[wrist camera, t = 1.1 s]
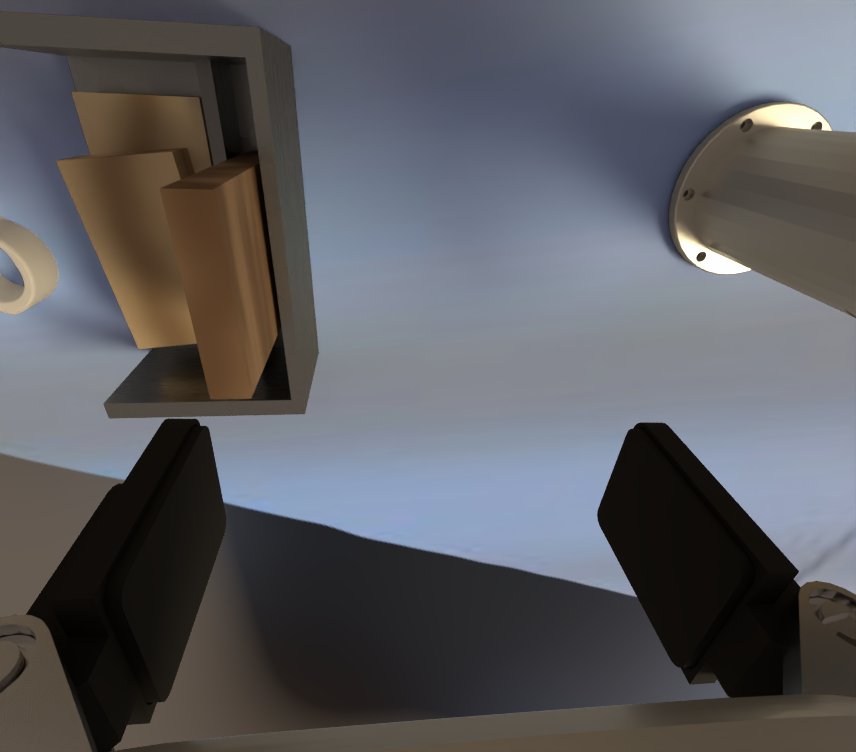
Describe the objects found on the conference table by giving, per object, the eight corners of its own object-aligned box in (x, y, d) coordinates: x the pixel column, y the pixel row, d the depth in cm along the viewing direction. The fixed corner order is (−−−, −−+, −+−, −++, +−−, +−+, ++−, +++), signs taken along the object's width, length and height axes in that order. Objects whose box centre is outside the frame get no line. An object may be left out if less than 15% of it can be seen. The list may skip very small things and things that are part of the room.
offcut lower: (211, 97, 29) (199, 97, 27) (251, 327, 38) (243, 341, 35) (93, 92, 29) (71, 91, 26) (160, 327, 37) (146, 342, 35)
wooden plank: (279, 151, 31) (212, 189, 18) (295, 292, 36) (251, 398, 24) (248, 150, 31) (159, 188, 18) (269, 292, 36) (210, 399, 23)
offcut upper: (187, 147, 28) (172, 151, 26) (240, 325, 35) (231, 340, 33) (80, 156, 28) (55, 160, 26) (153, 333, 34) (138, 349, 32)
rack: (290, 45, 29) (259, 27, 21) (318, 352, 41) (304, 413, 33) (70, 33, 28) (-49, 8, 20) (162, 354, 39) (108, 418, 31)
